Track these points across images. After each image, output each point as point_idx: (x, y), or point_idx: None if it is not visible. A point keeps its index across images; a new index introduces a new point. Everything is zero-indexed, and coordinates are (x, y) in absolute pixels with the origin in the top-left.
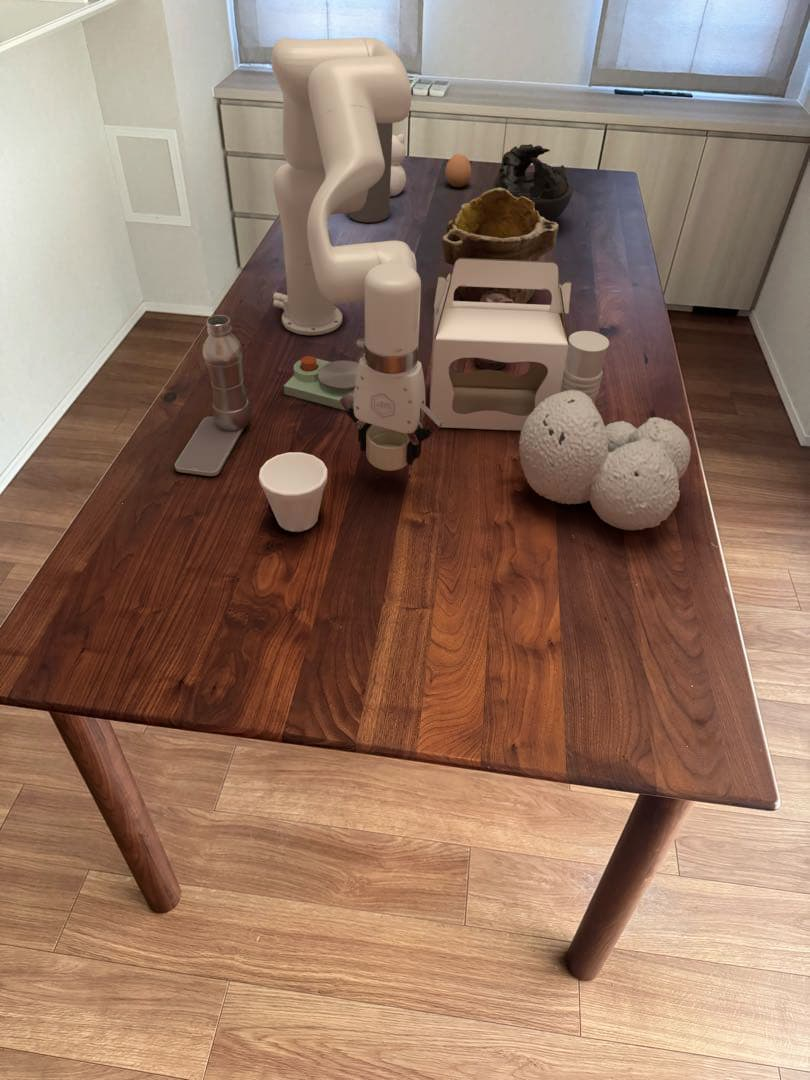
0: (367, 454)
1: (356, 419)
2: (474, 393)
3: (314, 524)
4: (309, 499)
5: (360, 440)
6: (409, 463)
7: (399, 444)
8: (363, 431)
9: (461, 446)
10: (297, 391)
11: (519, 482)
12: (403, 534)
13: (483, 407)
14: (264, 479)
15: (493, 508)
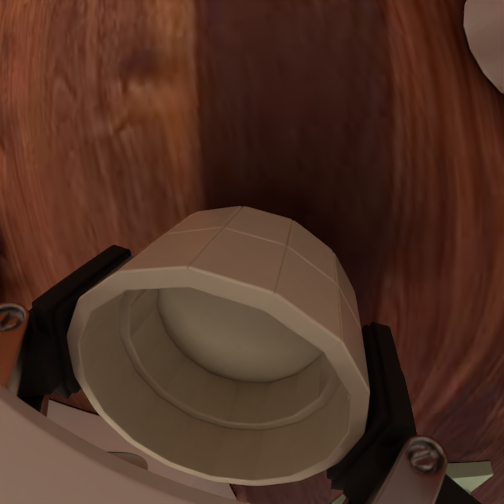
0: (349, 292)
1: (435, 494)
2: None
3: (464, 7)
4: None
5: (399, 368)
6: (117, 248)
7: (210, 376)
8: (389, 425)
9: None
10: (474, 472)
11: (9, 281)
12: (171, 13)
13: (134, 457)
14: None
15: (12, 193)
